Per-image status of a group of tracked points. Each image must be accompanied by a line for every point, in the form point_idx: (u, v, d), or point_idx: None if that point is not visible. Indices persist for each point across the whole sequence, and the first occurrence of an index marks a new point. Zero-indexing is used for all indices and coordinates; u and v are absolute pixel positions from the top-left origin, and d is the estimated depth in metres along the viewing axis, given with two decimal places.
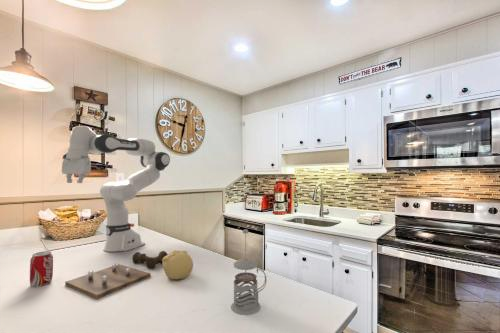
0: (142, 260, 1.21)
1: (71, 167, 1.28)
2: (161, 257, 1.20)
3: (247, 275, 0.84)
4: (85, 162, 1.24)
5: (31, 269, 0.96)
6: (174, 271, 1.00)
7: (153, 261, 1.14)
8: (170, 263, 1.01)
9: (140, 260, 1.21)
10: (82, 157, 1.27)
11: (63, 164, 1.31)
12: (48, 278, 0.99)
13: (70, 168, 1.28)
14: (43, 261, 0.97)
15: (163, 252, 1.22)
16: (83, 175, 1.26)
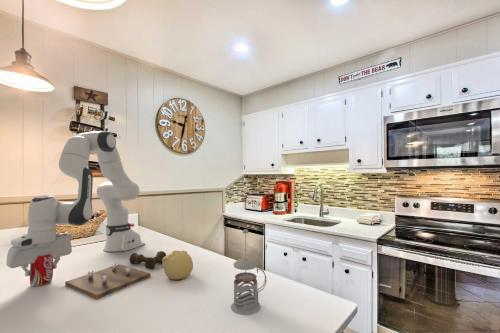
0: (140, 261, 1.20)
1: (40, 253, 0.98)
2: (160, 257, 1.20)
3: (247, 275, 0.84)
4: None
5: (31, 269, 0.96)
6: (174, 271, 1.00)
7: (153, 261, 1.14)
8: (170, 263, 1.01)
9: (138, 261, 1.20)
10: (57, 236, 1.04)
11: (16, 254, 0.92)
12: (48, 278, 0.99)
13: (38, 254, 0.97)
14: (44, 261, 0.98)
15: (161, 252, 1.22)
16: None
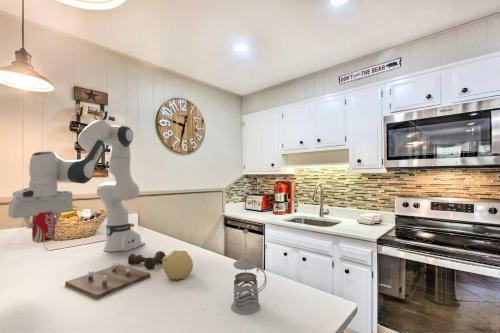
0: (139, 261, 1.19)
1: (41, 207, 0.99)
2: (159, 257, 1.20)
3: (247, 275, 0.84)
4: None
5: (33, 225, 0.97)
6: (174, 271, 1.00)
7: (152, 261, 1.14)
8: (170, 263, 1.01)
9: (137, 261, 1.19)
10: (59, 192, 1.05)
11: (18, 205, 0.92)
12: (50, 235, 0.99)
13: (40, 208, 0.98)
14: (45, 218, 0.98)
15: (160, 252, 1.22)
16: None
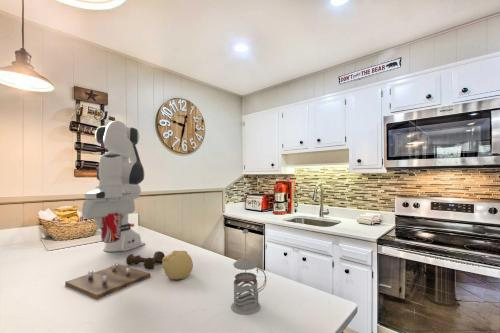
0: (137, 261, 1.19)
1: (110, 208, 1.01)
2: (158, 257, 1.20)
3: (247, 275, 0.84)
4: None
5: (103, 226, 1.00)
6: (174, 271, 1.00)
7: (152, 261, 1.14)
8: (170, 263, 1.01)
9: (135, 262, 1.18)
10: (123, 194, 1.07)
11: (92, 206, 0.95)
12: (118, 235, 1.02)
13: (109, 209, 1.01)
14: (114, 219, 1.01)
15: (159, 252, 1.22)
16: None
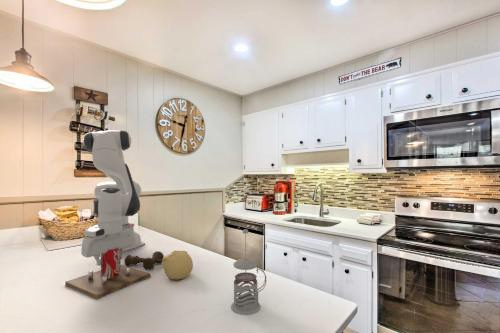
0: (136, 262, 1.18)
1: (110, 243, 1.01)
2: (157, 257, 1.20)
3: (247, 275, 0.84)
4: None
5: None
6: (174, 271, 1.00)
7: (152, 261, 1.14)
8: (170, 263, 1.01)
9: (134, 262, 1.18)
10: (122, 227, 1.07)
11: (91, 244, 0.94)
12: (117, 271, 1.01)
13: (108, 245, 1.00)
14: (113, 255, 1.00)
15: (158, 252, 1.22)
16: None
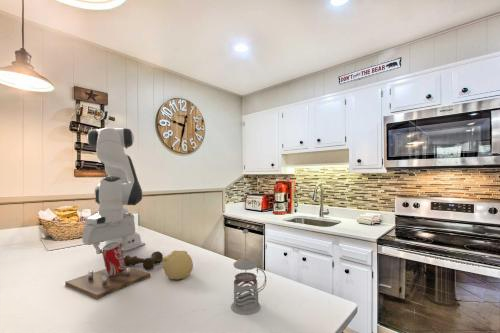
0: (135, 262, 1.18)
1: (111, 232, 1.01)
2: (156, 257, 1.19)
3: (247, 275, 0.84)
4: None
5: (105, 262, 1.01)
6: (174, 271, 1.00)
7: (152, 261, 1.13)
8: (170, 263, 1.01)
9: (133, 263, 1.17)
10: (123, 216, 1.07)
11: (92, 232, 0.95)
12: (122, 267, 1.04)
13: (109, 233, 1.01)
14: (115, 254, 1.01)
15: (157, 252, 1.22)
16: None
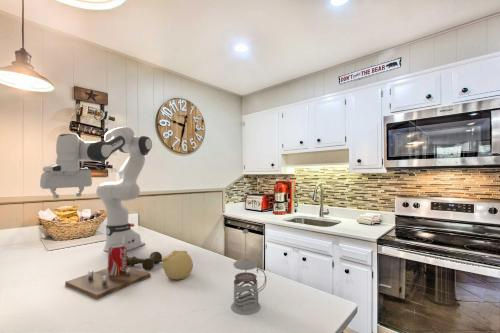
0: (134, 263, 1.17)
1: (67, 180, 1.15)
2: (155, 257, 1.19)
3: (247, 275, 0.84)
4: None
5: (109, 260, 1.02)
6: (174, 271, 1.00)
7: (151, 262, 1.13)
8: (170, 263, 1.01)
9: (132, 263, 1.17)
10: (80, 169, 1.21)
11: (48, 177, 1.09)
12: (123, 268, 1.04)
13: (66, 181, 1.15)
14: (120, 253, 1.03)
15: (156, 252, 1.21)
16: None
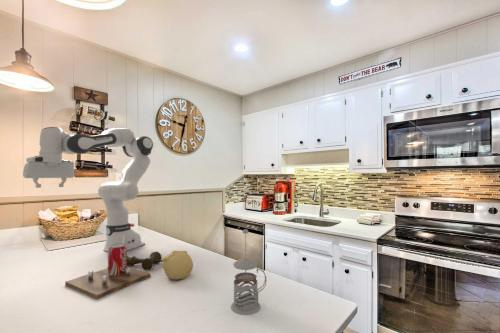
0: (134, 263, 1.17)
1: (49, 171, 1.22)
2: (155, 257, 1.19)
3: (247, 275, 0.84)
4: None
5: (109, 260, 1.02)
6: (174, 271, 1.00)
7: (151, 262, 1.13)
8: (170, 263, 1.01)
9: (131, 263, 1.17)
10: (63, 161, 1.28)
11: (31, 167, 1.16)
12: (123, 268, 1.04)
13: (48, 172, 1.22)
14: (120, 253, 1.03)
15: (156, 252, 1.21)
16: None
